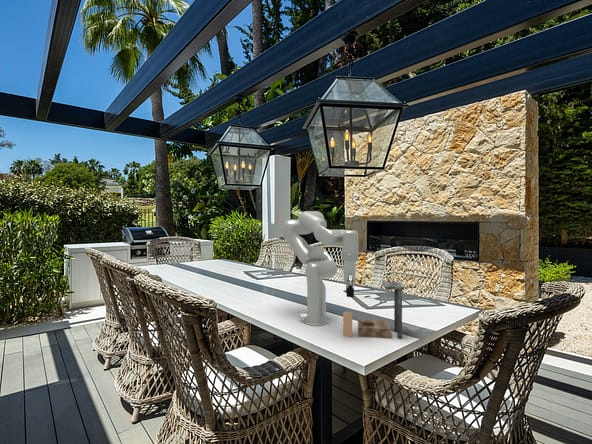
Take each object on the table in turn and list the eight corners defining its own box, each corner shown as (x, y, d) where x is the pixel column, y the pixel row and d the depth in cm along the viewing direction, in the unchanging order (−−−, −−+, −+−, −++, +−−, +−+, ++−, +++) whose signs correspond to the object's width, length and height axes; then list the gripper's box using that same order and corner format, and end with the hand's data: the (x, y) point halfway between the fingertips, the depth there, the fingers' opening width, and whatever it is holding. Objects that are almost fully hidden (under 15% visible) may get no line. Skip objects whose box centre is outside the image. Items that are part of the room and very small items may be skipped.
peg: (343, 336, 150) (343, 314, 150) (343, 333, 154) (343, 312, 154) (352, 336, 150) (352, 314, 149) (352, 333, 154) (352, 312, 153)
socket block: (358, 336, 150) (358, 285, 150) (358, 327, 162) (358, 281, 162) (403, 339, 147) (403, 287, 147) (399, 330, 159) (399, 282, 159)
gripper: (341, 255, 161) (341, 290, 161) (342, 259, 144) (341, 298, 144) (357, 255, 160) (357, 290, 160) (359, 259, 143) (359, 299, 143)
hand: (349, 294), depth 152 cm, fingers open, 9 cm apart
